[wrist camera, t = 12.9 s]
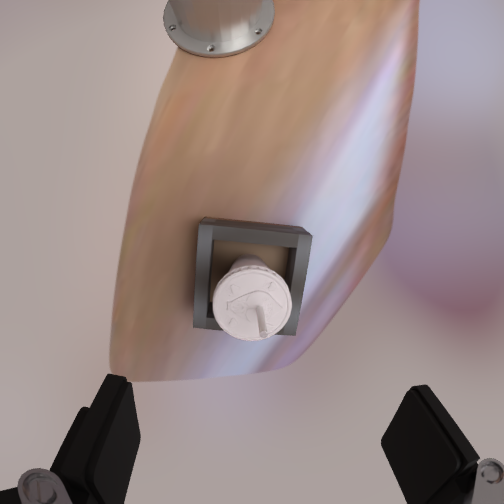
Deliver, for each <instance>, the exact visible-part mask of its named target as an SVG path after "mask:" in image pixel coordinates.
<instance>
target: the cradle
mask: <svg viewBox="0 0 504 504" xmlns="http://www.w3.org/2000/svg"><path fill="white" fill-rule="evenodd" d="M311 242H312V235H311V234H310V233H309V232H307V231H306V230H305V229H304V228H303V227H297V226H289V225H280V224H270V223H261V222H251V221H242V220H232V219H221V218H211V217H204V219H203V220H202V221H201V222H200V224H199V230H198V244H197V258H196V274H195V293H194V314H193V328H203V329H212V330H223V329H222V328H221V327H220V326H219V324H218V323H217V321H216V319H215V316H214V313H213V295H214V291H215V288H216V286H217V284H218V282H219V281H220V280H221V279H222V278H223V277H224V276H225V275H226V274H227V273H228V272H229V270H230V268H231V266H232V265H233V263H234V261H235V260H236V259H237V258H238V257H239V256H241V255H244V254H254V255H256V256H258V257H260V258H261V259H262V260H263V262H264V263H265V264H266V265H267V266H268V267H269V269H270V270H273V271H275V272H276V273H277V274H278V275H279V276H281V277H282V278H283V280H284V281H285V283H286V284H287V286H288V288H289V292H290V295H291V300H292V309H291V314H290V316H289V319H288V321H287V322H286V324H285V325H284V326H283V328H282V329H281V330H280V331H278V332H277V333H276V334H275V335H293V336H295V335H296V329H297V324H298V319H299V314H300V308H301V303H302V297H303V291H304V286H305V280H306V274H307V268H308V262H309V255H310V249H311ZM223 331H224V330H223Z"/></svg>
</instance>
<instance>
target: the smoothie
mask: <svg viewBox="0 0 504 504" xmlns="http://www.w3.org/2000/svg"><path fill="white" fill-rule="evenodd" d="M291 309H292V300H291V295H290V292H289V288H288V286H287V284H286V283H285V281H284V280H283V278H282V277H281V276H279V275H278V274H277V273H276V272H275V271H273V270H270V269H269V267H268V266H267V265H266V264H265V263H264V262H263V260H262V259H261V258H260V257H258V256H256V255H254V254H244V255H241V256H239V257H238V258H237V259H236V260H235V261H234V263H233V265H232V266H231V268H230V270H229V272H228V273H227V274H226V275H225V276H224V277H223V278H222V279H221V280H220V281H219V282H218V284H217V286H216V288H215V291H214V295H213V313H214V316H215V319H216V321H217V323H218V324H219V326H220V327H221V328H222V329H223V330H224V331H225V332H226V333H228V334H229V335H231V336H233V337H235V338H237V339H241V340H245V341H258V340H263V339H266V338H268V337H271V336H273V335H274V334H276V333H277V332H278V331H280V330H281V329H282V328H283V326H284V325H285V324H286V322H287V321H288V319H289V316H290V314H291Z"/></svg>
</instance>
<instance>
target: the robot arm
mask: <svg viewBox="0 0 504 504" xmlns="http://www.w3.org/2000/svg"><path fill="white" fill-rule="evenodd" d="M274 14H275V9H274V3H273V1H272V0H169V1H168V2H167V5H166V7H165V10H164V16H163V20H164V26H165V29H166V31H167V33H168V35H169V37H170V38H171V40H172V41H173V42H174V43H175V44H176V45H177V46H179V47H180V48H181V49H183V50H185V51H187V52H189V53H192V54H195V55H199V56H203V57H226V56H231V55H235V54H238V53H241V52H244V51H246V50H248V49H250V48H252V47H254V46H255V45H256V44H258V43H259V42H260V41H261V40H262V39H263V38H264V37H265V36H266V35H267V34H268V32H269V30H270V28H271V26H272V23H273V20H274ZM174 29H175V30H174ZM172 30H173V31H172ZM257 33H259V34H260V35H257ZM210 50H214V51H212V52H210ZM140 438H141V437H140V429H139V424H138V419H137V413H136V407H135V402H134V395H133V388H132V383H131V382H127V379H126V377H123V376H118V375H113V374H107V376H106V378H105V379H104V381H103V383H102V385H101V387H100V389H99V391H98V393H97V395H96V397H95V399H94V400H93V403H92V404H91V406H90V408H88V407H82V408H81V409H80V411H79V412H78V414H77V416H76V418H75V420H74V422H73V424H72V426H71V428H70V430H69V431H68V433H67V436H66V438H65V439H64V441H63V444H62V445H61V447H60V450H59V452H58V454H57V456H56V458H55V460H54V462H53V464H52V466H51V468H50V471H49V470H46V469H41V468H37V469H31V470H28V471H26V472H25V473H24V474H22V476H21V477H20V479H19V481H18V486H17V487H15V488H11V489H7V490H3V491H0V504H124V501H125V497H126V493H127V489H128V485H129V481H130V477H131V474H132V470H133V466H134V462H135V459H136V455H137V451H138V448H139V444H140ZM381 446H382V448H383V450H384V452H385V455H386V457H387V459H388V461H389V464H390V466H391V468H392V470H393V472H394V475H395V477H396V479H397V481H398V484H399V486H400V488H401V490H402V492H403V495H404V497H405V500H406V502H407V504H504V465H503V464H502V463H501V462H500V461H498V460H496V459H492V458H488V459H484V460H483V461H481V462H480V463H479V464H477V461H478V460H479V459H480V457H479V456H478V454H477V453H476V451H475V450H474V448H473V447H472V445H471V444H470V442H469V441H468V440H467V438H466V437H465V435H464V434H463V433H462V431H461V430H460V428H459V427H458V425H457V424H456V423H455V421H454V420H453V418H452V417H451V416H450V414H449V413H448V412H447V410H446V409H445V408H444V406H443V405H442V404H441V402H440V401H439V399H438V398H437V397H436V396H435V394H434V393H433V391H432V390H431V389H430V387H428V385H419V386H413V387H411V388H410V390H409V391H407V393H406V394H405V396H404V398H403V400H402V402H401V404H400V406H399V408H398V410H397V412H396V414H395V415H394V418H393V419H392V421H391V423H390V425H389V426H388V428H387V430H386V432H385V433H384V435H383V437H382V439H381Z"/></svg>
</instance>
